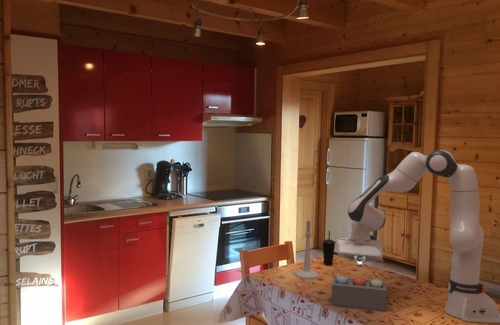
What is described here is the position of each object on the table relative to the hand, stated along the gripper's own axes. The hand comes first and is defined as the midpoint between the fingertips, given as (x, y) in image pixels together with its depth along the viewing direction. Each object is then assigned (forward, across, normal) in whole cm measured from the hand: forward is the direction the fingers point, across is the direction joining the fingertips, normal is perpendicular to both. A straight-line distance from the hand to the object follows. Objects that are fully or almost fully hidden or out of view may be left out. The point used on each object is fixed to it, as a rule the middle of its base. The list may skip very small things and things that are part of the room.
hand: (359, 266), depth 194 cm
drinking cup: (-26, -17, +50) cm, 59 cm away
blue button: (+8, -7, +4) cm, 12 cm away
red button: (+8, 0, +4) cm, 9 cm away
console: (+13, 0, +9) cm, 16 cm away
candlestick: (-10, -27, +33) cm, 43 cm away
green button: (+8, +8, +4) cm, 12 cm away
